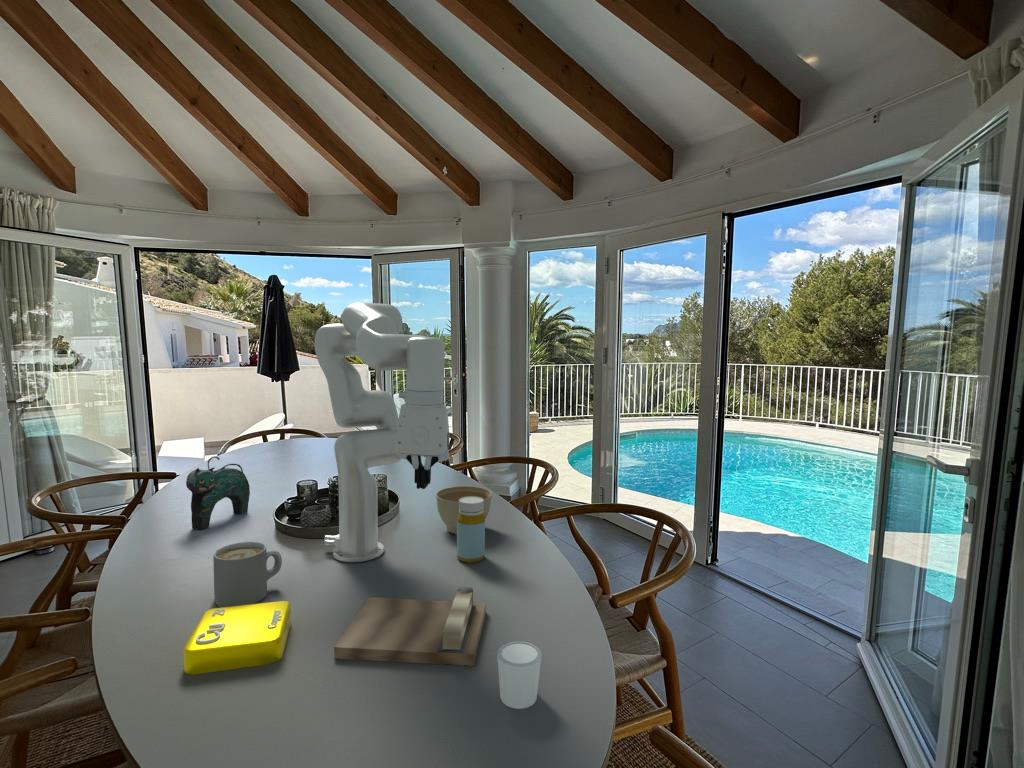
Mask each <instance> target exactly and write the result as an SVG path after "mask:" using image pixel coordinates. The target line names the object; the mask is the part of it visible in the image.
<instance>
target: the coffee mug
mask: <svg viewBox="0 0 1024 768" xmlns="http://www.w3.org/2000/svg"><path fill="white" fill-rule="evenodd" d="M212 556H213V559H212V560H213V561H212V562H213V588H214V589H213V590H214V591H213V594H214V598H213V599H214V604H215V605H217V606H218V607H219V608H223V607H232V606H241V605H250V604H256V603H258V602H260V601H262V600H263V599H264V598H265V597H266V596H267V595H268V581H269V579H272V578H273V577H274V576H275V575H277V573H279V571H280V570H281V568H282V564H283V563H282V561H283V559H282V555H281V553H280V551H278V550H277V549H267V546H266V544H265V543H262V542H259V541H240V542H235V543H231V544H227V545H225V546H222V547H220V548H218V549H216V550H215V551H214V553H213V555H212ZM270 557H273V561H274V563H273V567H272V568H270V569H268V566H267V564H268V563H267V562H268V559H269V558H270Z"/></svg>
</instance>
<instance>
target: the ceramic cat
mask: <svg viewBox="0 0 1024 768" xmlns="http://www.w3.org/2000/svg"><path fill="white" fill-rule="evenodd" d="M214 458H215V459H217V460H218V461H220V457H218V456H212V457H211V456H210V458H209V459H208V460H207V469H200V468H199V467H197V468H196V469H193V470H192V471H190V473H189V474H188V475H187V477H186V481H185V484H186V485H185V486H186V488H187V489H188V490H189V491H190V492H191V502H190V510H191V528H192V530H198V531H203V530H206V529H207V528H208V529H209V527H210V523H211V516H212V513H213V511H214V508H215V506H216V505H217V503H218V502H220V501H221V500H223V499H224V498H227V499H228V500H230V501H231V505H232V509H233V511H232V513H233V515H238V516H240V515H241V516H242V515H245V514H247V513H248V512H249V502H250V495H251V493H250V492H251V491H250V490H251V489H250V484H249V480H248V479H247V476H246V474H245V473H244V470H243V468H242V466H241V465H240V464H239V463H228V464H226V465H224V466H223V467H220V468H218V469H216V468H215V467H211V468H210V461H212V459H214ZM228 466H236V467H238V468H239V469H240V470H239V469H238V468H230V467H228ZM214 469H216V470H214Z"/></svg>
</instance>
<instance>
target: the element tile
mask: <svg viewBox="0 0 1024 768" xmlns="http://www.w3.org/2000/svg"><path fill="white" fill-rule="evenodd" d="M291 612H292V611H291V603H290V602H288V601H287V600H279V601H272V602H271V601H270V602H262V603H261V602H260V603H253V604H250V605H241V606H232V607H214V608H210V609H208V610H207V611H205V612H204V613H203V614H202V615H201V617H200V619H199V621H198V622H197V624H196V626H195V628H194V629H193V630H192V633H191V634H190V636H189V638H188V640H187V642H186V643H185V645H184V648H183V672H184V673H185V674H187V675H202V674H207V673H215V672H221V671H223V672H224V671H229V670H237V669H244V668H250V667H258V666H265V665H270V664H271V665H272V664H274V663H276V662H278V661H280V659H282V658H283V657H284V656H283V655H284V652H285V649H286V645H287V644H286V643H287V641H288V636H289V632H290V628H291V624H292V623H291V622H292V621H291V619H292V618H291V617H292V615H291Z"/></svg>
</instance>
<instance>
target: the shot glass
mask: <svg viewBox="0 0 1024 768" xmlns="http://www.w3.org/2000/svg"><path fill="white" fill-rule="evenodd" d="M542 654H543V653H542V651H541V649H540V648H539V646H537V645H535V644H534V643H531V642H527V641H519V640H518V641H517V640H516V641H509V642H508V643H505V644H503V645H501V646H500V647H499V648H498V649H497V653H496V659H497V672H498V681H499V682H498V685H499V696H500V699H501V702H502V703H503V704H504V705H505V706H507V707H509V708H512V709H517V710H518V709H520V710H522V709H528V708H529V707H531V706H534V704H535V703H536V702H537V699H538V698H537V697H538V692H539V691H538V689H539V682H540V681H539V680H540V672H541V665H542V664H541V663H542Z"/></svg>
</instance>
